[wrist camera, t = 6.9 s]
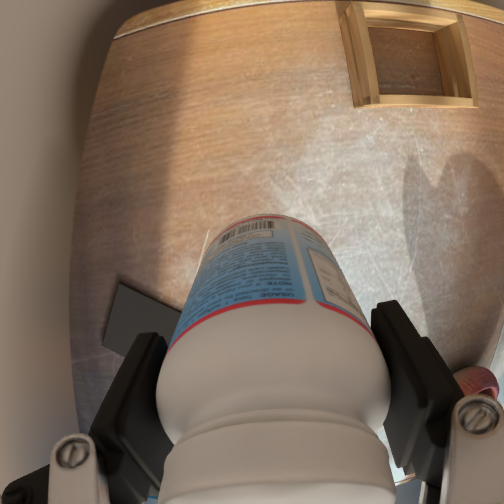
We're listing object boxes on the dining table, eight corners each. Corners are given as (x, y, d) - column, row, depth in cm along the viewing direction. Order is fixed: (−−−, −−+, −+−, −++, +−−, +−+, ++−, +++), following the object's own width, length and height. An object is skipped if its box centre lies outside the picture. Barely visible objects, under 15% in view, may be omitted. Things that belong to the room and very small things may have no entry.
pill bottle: (198, 319, 16) (136, 537, 5) (211, 199, 14) (82, 412, 3) (316, 336, 16) (355, 551, 6) (349, 223, 14) (495, 433, 3)
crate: (354, 108, 26) (371, 104, 21) (338, 19, 23) (351, 0, 18) (451, 108, 25) (479, 107, 20) (436, 26, 22) (462, 14, 17)
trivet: (103, 344, 36) (102, 345, 36) (120, 281, 33) (119, 283, 33) (174, 378, 38) (174, 379, 37) (203, 321, 34) (203, 323, 34)
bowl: (488, 338, 35) (516, 373, 27) (479, 394, 39) (498, 427, 31) (387, 381, 37) (405, 426, 30) (392, 431, 41) (405, 470, 34)
